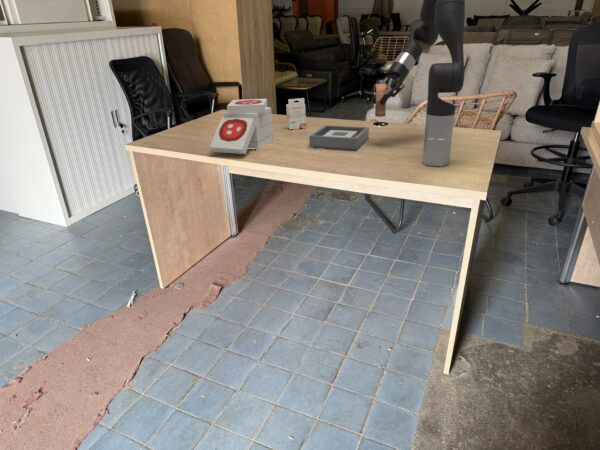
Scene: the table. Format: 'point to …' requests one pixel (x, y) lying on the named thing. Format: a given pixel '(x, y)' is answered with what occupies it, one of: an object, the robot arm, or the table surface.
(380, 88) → the peg
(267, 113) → the stack of white boxes
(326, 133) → the open box
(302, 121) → the ink cartridge box
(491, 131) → the table surface
